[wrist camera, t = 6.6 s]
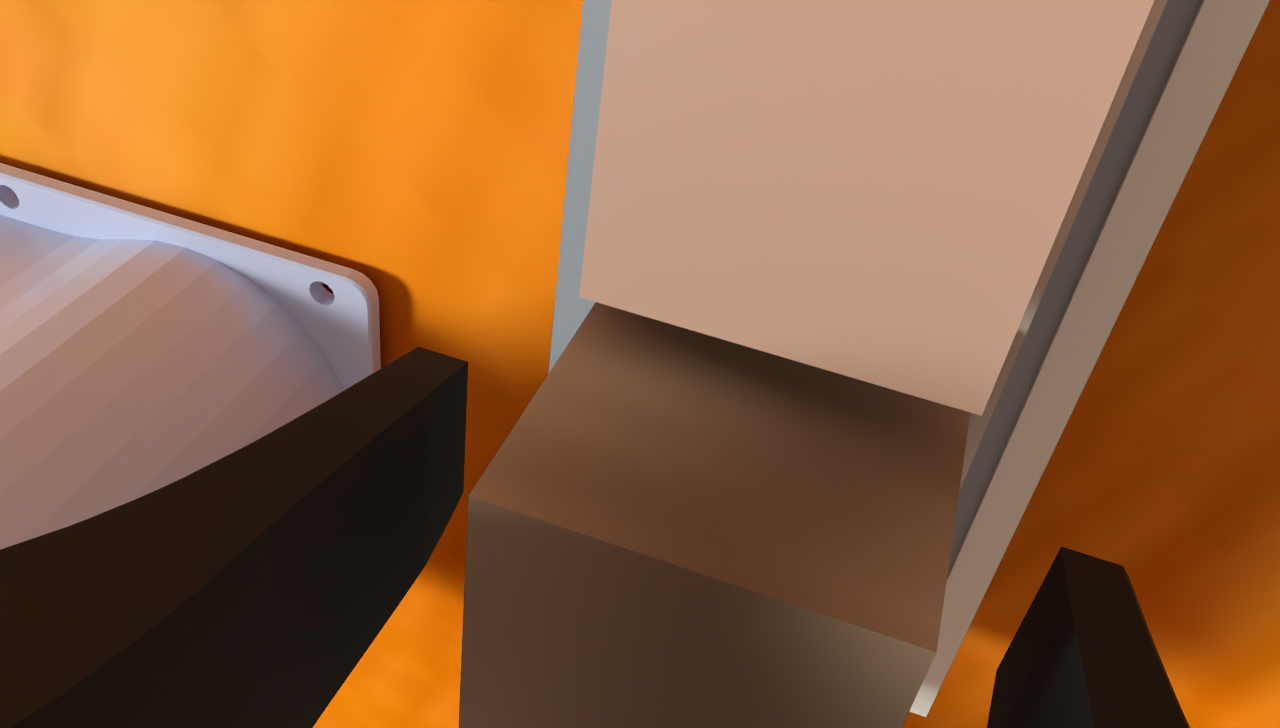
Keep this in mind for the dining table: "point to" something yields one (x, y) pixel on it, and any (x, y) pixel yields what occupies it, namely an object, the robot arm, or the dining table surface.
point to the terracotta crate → (848, 173)
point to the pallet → (718, 532)
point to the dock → (1072, 301)
